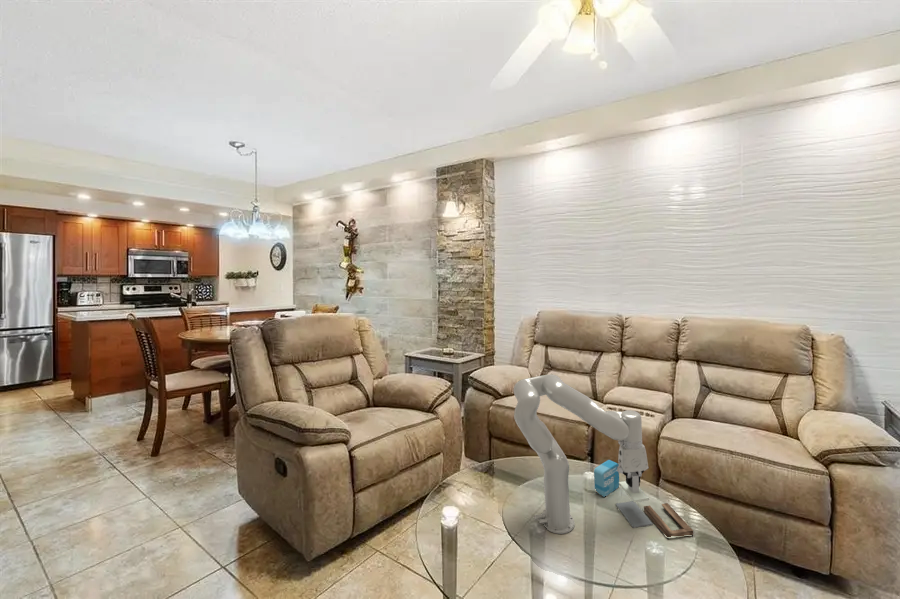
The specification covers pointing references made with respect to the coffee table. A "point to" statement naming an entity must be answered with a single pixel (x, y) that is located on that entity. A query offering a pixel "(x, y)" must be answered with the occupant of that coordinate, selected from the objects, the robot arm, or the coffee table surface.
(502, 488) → the coffee table surface
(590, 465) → the coffee table surface
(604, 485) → the data package
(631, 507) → the felt pad
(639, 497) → the cover plate
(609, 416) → the robot arm
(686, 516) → the coffee table surface
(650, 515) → the brown u-shaped frame
